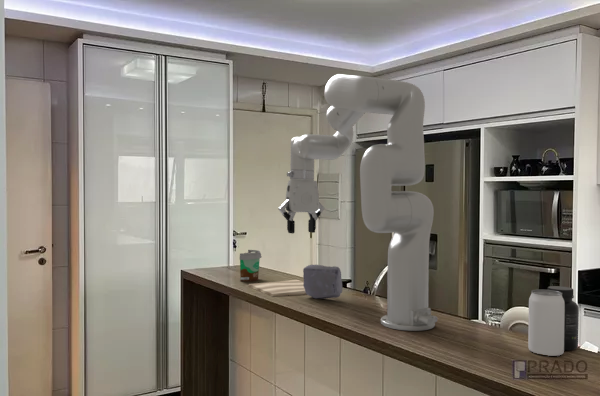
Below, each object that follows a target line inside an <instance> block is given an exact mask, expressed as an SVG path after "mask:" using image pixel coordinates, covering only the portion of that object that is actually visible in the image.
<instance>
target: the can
mask: <svg viewBox="0 0 600 396" xmlns="http://www.w3.org/2000/svg"><path fill="white" fill-rule="evenodd" d="M564 313H565V303H564V299H563V297H562V293H561V292H558V291H553V290H548V289H532V290H531V294H530V296H529V298H528V328H527V329H528V333H527V334H528V335H527V337H528V338H527V339H528V340H527V341H528V343H527V347H528V350H529V351H530V353H532V352H533V353H532V354H534V353H537V354H543V355H548V356H547V357H549V356H557V357H560V355H561V356H562V355H563V354H564V353H565V352H564V351H565V350H564ZM537 354H536V355H537Z"/></svg>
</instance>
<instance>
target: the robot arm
mask: <svg viewBox="0 0 600 396" xmlns="http://www.w3.org/2000/svg"><path fill="white" fill-rule="evenodd" d="M323 92H324V93H323V94H324V99H325V101H326V103H327V104H328V105H329V107H328V109H326V113H325V114H326V115H325V117H326V120H327V122H328V124H329V126H330V127H331V128H332V129H334V130H335V131H336V132H335V133H334V134H333V135H330V134H329V135H328V134H315V133H313V134H312V133H305V134H302V135H301V136H294V137H292V138H291V140H290V162H289V163H290V170H289V171H288V172H286V177H289V179H290V180H288V181H287V185H286V193H285V201H284V202H283V203H282V204H281V205H280V206H279V207H278V211H279V212H280V214H281V215H282V216H283V217H284V218H285V220H286V221H287V223H286V227H287V229H286V230H287V233H288V234H291V235H292V234H295V231H296V230H295V228H296V227H295V226H296V224H295V223H296V222H295V220H294V218H295V215H296V214H297V213H307V214H308V217H309V219H308V222H307V223H308V228H307V229H308V230H307V231H308V233H311V234H312V233H313V234H314V233H316V228H317V226H316V225H317V220H318V219H319V217H320V216H321V213H323V211H324V210H325V207H324V205H323V204H321V203H320V197H319V195H320V194H319V187H318V182H317V180H315V160H322V161H323V160H325V161H333V160H337V159H339V158H340V157H342V155H344V154H345V152H346V151H347V150H349V149H350V147H351V145H352V142H353V139H354V126H355V125H356V124H358V121H359V120H361V118H362V117H363V116H364V115H365V114H366V113H368V114H378V115H380V114H381V115H392V116H391V118H390V121H389V122H388V124H387V129H386V136H387V138H386V139H387V143H379V144H373V145H371V146H370V147H368V148H366V150H365V152H364V153H363V155H362V158H361V161H360V165H359V179H360V180H359V181H360V182H359V183H360V204H361V214H362V215H361V216H362V220H363V224H364V225H365V228H367V229H368V230H369V231H371V232H373V233H376V234H388V233H390V234H392V233H393V235H392V237H391V240H390V242H389V244H388V248H387V249H388V250H387V297H386V298H387V305H386V306H387V308H386V310H387V314H385V315H383V316H382V317H381V318H380V324H381V325H382V326H383V327H386V328H389V329H392V330H399V331H405V332H407V331H409V332H420V331H421V332H422V331H427V330H428V331H429V330H432V329H433V328H435V327H436V322H437V321H438V316H436V315H432V309H431V307H429V273H430V271H429V266H430V265H429V263H430V262H429V261H430V238H431V230H432V226H433V221H434V217H435V216H434V214H435V213H434V212H435V211H434V205H433V203H432V200H431V199H430V198H429V197H428V196H427V195H425V194H424V193H421V192H419V191H413V190H412V191H410V190H399V191H398V190H397V191H392V187H393V186H396V187H398V186H401V187H402V186H405V187H406V186H414V185H417V184H419V183H420V182H422V181H423V179H424V177H425V170H426V159H425V158H426V157H425V138H424V121H425V119H424V117H425V111H426V110H425V109H426V103H425V96H424V93H423V92H422V90H421V89H420V88H419V87H418V86H417V85H415V84H413V83H410V82H408V81H402V80H397V79H390V78H379V77H374V76H366V75H365V76H363V75H354V74H345V73H337V74H334V75H333V76H331V77H330V78H329V80H328V81H327V83H326V84H325V87H324V91H323Z"/></svg>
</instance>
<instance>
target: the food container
mask: <svg viewBox="0 0 600 396" xmlns="http://www.w3.org/2000/svg"><path fill="white" fill-rule="evenodd" d="M261 258H262V254H261V251H260V250H256V249H248V251H247V252H244V253H239V269H240V272H239V274H240V282H256V281H258V280H259V271H260V260H261Z"/></svg>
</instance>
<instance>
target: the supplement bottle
mask: <svg viewBox="0 0 600 396" xmlns="http://www.w3.org/2000/svg"><path fill="white" fill-rule="evenodd" d="M547 290H553V291H558V292H561V293H562V297H563V299H564V303H565V313H564V351H573V350H576V349H577V348H578V347H579V329H580V328H579V327H580V324H579V323H580V322H579V321H580V319H579V316H580V315H579V313H580V309H579V305H578V303H577V302H576V301H574V300H573V299H574V298H575V296H574V288H571V287H567V286H560V285H557V286H556V285H552V286H548V287H547Z"/></svg>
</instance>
